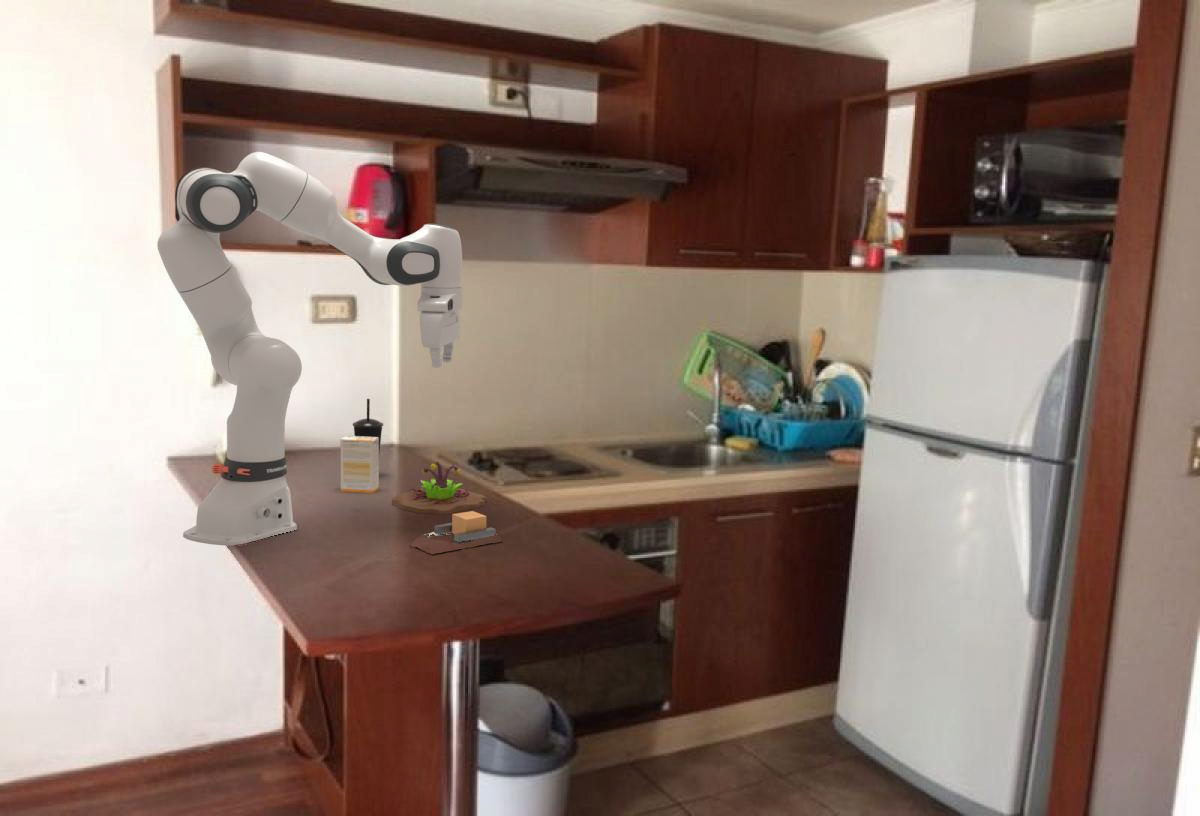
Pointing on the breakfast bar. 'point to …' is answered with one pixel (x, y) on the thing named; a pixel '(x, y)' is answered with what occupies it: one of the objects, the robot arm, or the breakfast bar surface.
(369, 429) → the drinking cup
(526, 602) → the breakfast bar surface
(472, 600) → the breakfast bar surface
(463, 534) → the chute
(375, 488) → the supplement box
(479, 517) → the orange block
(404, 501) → the plant
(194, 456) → the breakfast bar surface
